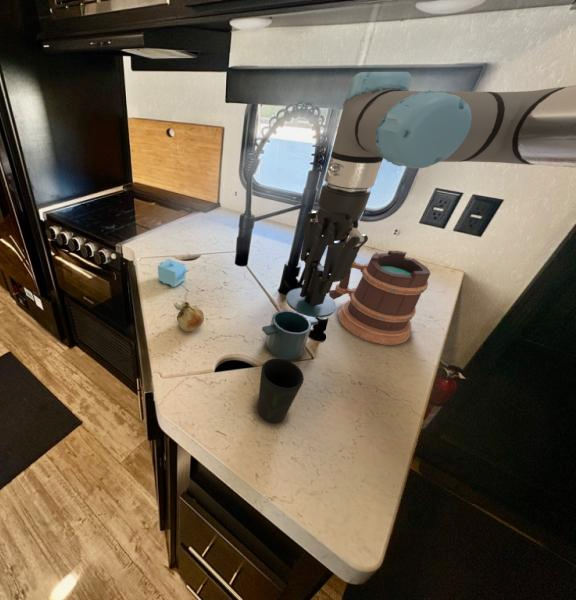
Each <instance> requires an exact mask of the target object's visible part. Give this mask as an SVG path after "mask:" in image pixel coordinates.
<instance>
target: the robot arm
mask: <svg viewBox="0 0 576 600" xmlns="http://www.w3.org/2000/svg"><path fill="white" fill-rule="evenodd" d="M411 82H412V75H411V74H410V72H409V71H361V72H358V73H357V74H356V75H354V77H352V79H351V82H350V85H349V87H348V90H347V94H346V97H345V99H344V100H343V104H342V106H343V107H342V111H341V115H340V119H339V123H338V126H337V130H336V134H335V137H334V141H333V146H332V148H331V149H332V150H331V154H330V156H329V160H328V165H327V168H326V172H325V176H324V182H325V183H324V184H323V185H322V186H321V190H320V193H319V196H318V201H317V206H318V207H319V208H318V209H317V211H309V212H306V213H305V229H304V235H303V240H302V246H301V252H300V257H299V258H300V260H301V262H304V266H305V270H304V273H303V277H302V279H303V283H302V285H301V288H302V290H301V293H300V296H301V297H305V296H306V292H307V289H308V286H309V282H310V279H311V276H312V272H313V269H314V266H316V265H322V266H324V269H323V273H322V277H318V279H317V282H316V285H315V288H314V292H313V295H312V298H311V301H310V305H311V306H315V305H320V304H323V302H324V299H325V296H326V295H329V292H330V290H332V287H333V284H334V283H338V282H340V281H343V280H344V279H345V277H346V275H347V273H348V271H349V269H350V267H351V265H352V263H353V261H354V259H355V257H356V255H357V256H358V253H359V251H360V249H361V248H362V247H363V246H364V245H365V244H366V243H367V242H368V240H369V237H368V235H367V234H361V232H360V231H359V230H358V228H359V218H360V216H361V214H363V213H364V211H365V210H366V207H367V204H368V201H369V198H370V196H371V189H370V188H372V187H374V186H375V183H376V180H377V176H378V175H379V171H380V168H381V165H382V163H383V160H385V161H386V162H387V163H391V164H392V165H394V166H398V167H405V168H410V169H425V168H429V167H430V166H433V165H436V164H438V163H463V162H468V163H469V162H470V163H502V164H514V165H515V164H516V165H527V166H548V167H561V168H574V169H576V84H574V85H568V86H559V87H552V88H551V87H550V88H545V89H537V90H527V91H526V90H525V91H457V90H456V91H453V90H452V91H451V90H450V91H448V90H447V91H446V90H445V91H444V90H438V91H435V90H434V91H433V90H410V87H411ZM326 249H327V250H326ZM325 252H326V254H325V259H324V264H322V263H321V261H322V258H323V256H324V253H325ZM356 258H357V257H356ZM355 260H356V259H355Z"/></svg>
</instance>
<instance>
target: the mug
mask: <svg viewBox="0 0 576 600" xmlns="http://www.w3.org/2000/svg"><path fill="white" fill-rule="evenodd" d="M406 255H407V252H406V251H402V250H388V252H387V253H385V252H383V253H378V252H375V253H373V254H372V256H371V258H370V259H369V262H367V263H363V264H362V263H358V262H356V258H358V254H357V255H356V257H355V259H354V261H353V263H352V265H351V267H350V269H349V271H348V273H347V275H346V277H345V279H344V280H343V281H339V283H337V284H336V285H335V288H334V289H330V292H329V293H328V296H329V297H331V298H332V299H333V300H336V299H339V298H341V297H342V296H344V295H346V294H347V295H348V297H349V299H348V300H347V301H346V302H344V304H343V305H342V306H341V307H340V308H339V310H338V313H337V317H338V321H339V322H340V324H341V325H342V327H344V328H345V329H346V330H347V331H349V332H350V333H351V334H353V335H354V336H357V337H358V338H361V339H362V340H366V341H369V342H371V343H374V344H379V345H380V344H381V345H387V346H388V345H389V346H390V345H399V344H402V343H405V342H407V341H408V339H409V338H410V337H411V329H412V319H413V317H415V314H416V313H417V311H416V309H417V308H416V306H417V304H418V302H419V300H420V298H421V295H422V294H423V293H424V292H425V291H426V290H427V289H428V286H429V278H430V276H431V271H430V269H429V268H428V267H427V266H425V264H423V263H421V262H419V261H418V260H417V259H415V258H411V257H406ZM352 269H356V270H359V271H360V272H361V275H362V276H361V278H360V280H359V282H358V284H357V286H356V288H349V286H350V285H349V284H350V279H351V273H352Z"/></svg>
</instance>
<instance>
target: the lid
mask: <svg viewBox="0 0 576 600" xmlns="http://www.w3.org/2000/svg"><path fill="white" fill-rule="evenodd" d="M323 269H324V265H323V264H322V265H316V266H314V269H313V272H312V276H311V279H310V282H309V286H308V289H307V292H306V296H305V297H301V296H300V293H301V290H302V287H297V288H293V289H291V290H289V291H288V292H287V294H286V295H285V302H286V304H287V305H288V307H289V308H290V309H291V310H292V311H294V312H298V313H300V314H302V315H304V316H305V317H309V316H310V317H315V318H326V317H330V316H331V315H333V314H334V313H335V311H336V309H337V305H336V302H335V299H332V298H331V297H329V294H326V296H325V299H324V302H323V304H320V305H315V306H311V305H310V301H311V298H312V295H313V292H314V288H315V285H316V282H317V279H318V277H322V273H323Z"/></svg>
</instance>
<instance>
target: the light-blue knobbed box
mask: <svg viewBox="0 0 576 600" xmlns="http://www.w3.org/2000/svg"><path fill="white" fill-rule="evenodd" d="M187 272H190V270H189V269H187V265H186V264H184V263H181V262H179V261H176V260H173V259H167V260H165V261H164V262H160V263H159V265H158V266H157V277H158V281H160V282H162V284H167V285H170V287H171V288H175V287H177V286H178V285H179V284H181V283H182V282H183V281H185V280H187V279H186V277H187V276H186V274H187Z"/></svg>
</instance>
